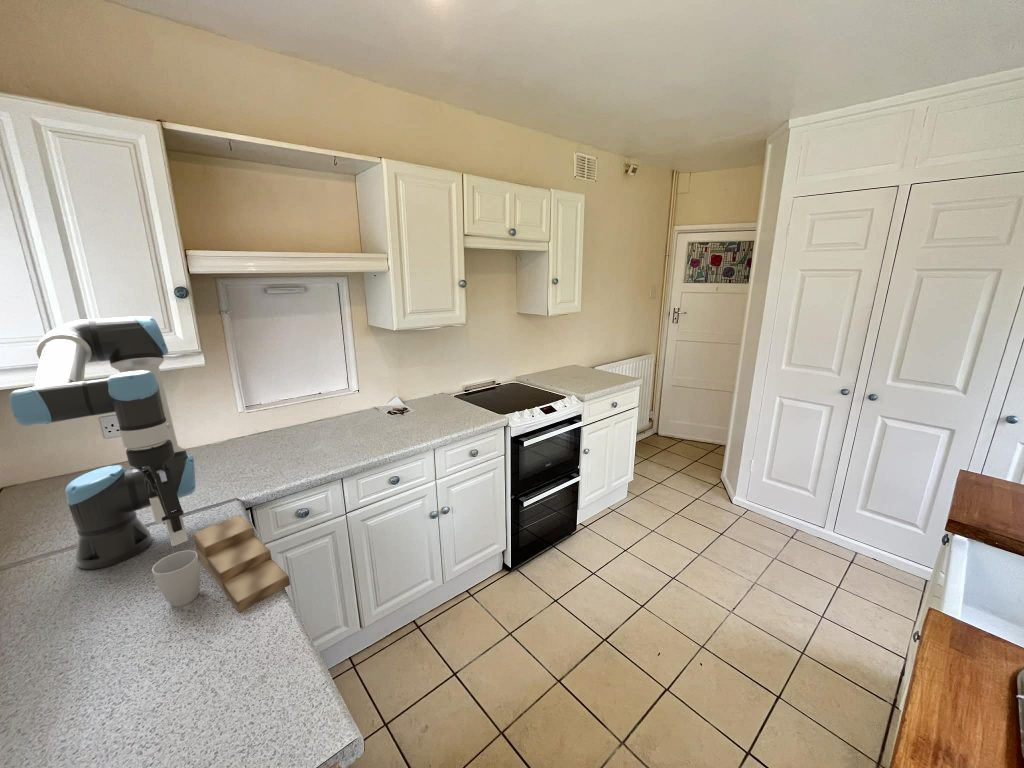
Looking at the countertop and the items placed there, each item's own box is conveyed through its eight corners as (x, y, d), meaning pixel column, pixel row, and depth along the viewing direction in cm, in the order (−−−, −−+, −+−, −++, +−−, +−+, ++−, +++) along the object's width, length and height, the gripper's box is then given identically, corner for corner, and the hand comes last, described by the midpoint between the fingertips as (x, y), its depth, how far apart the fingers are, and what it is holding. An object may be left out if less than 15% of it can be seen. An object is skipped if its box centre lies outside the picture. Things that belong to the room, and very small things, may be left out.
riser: (239, 612, 92) (232, 583, 90) (198, 558, 111) (192, 533, 109) (290, 584, 100) (285, 557, 99) (244, 538, 119) (239, 514, 117)
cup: (200, 581, 102) (191, 546, 100) (210, 596, 97) (201, 559, 95) (158, 600, 96) (148, 563, 94) (167, 617, 91) (156, 579, 89)
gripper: (187, 451, 83) (208, 543, 89) (156, 427, 99) (176, 507, 104) (138, 464, 78) (164, 562, 83) (114, 436, 93) (137, 520, 98)
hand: (171, 531), depth 93 cm, fingers open, 13 cm apart
